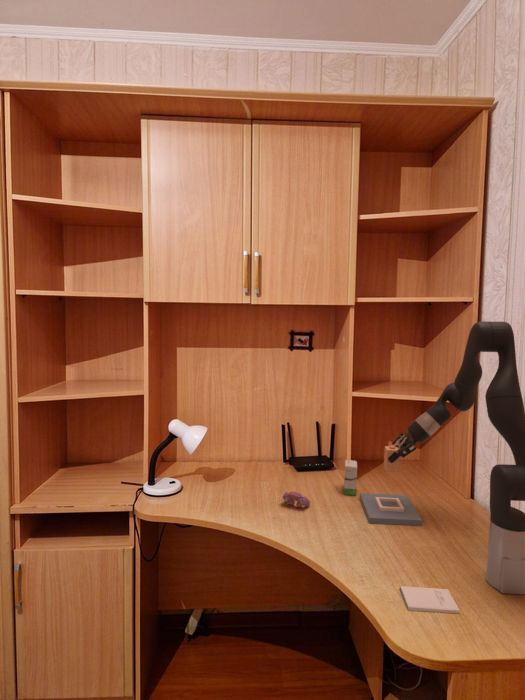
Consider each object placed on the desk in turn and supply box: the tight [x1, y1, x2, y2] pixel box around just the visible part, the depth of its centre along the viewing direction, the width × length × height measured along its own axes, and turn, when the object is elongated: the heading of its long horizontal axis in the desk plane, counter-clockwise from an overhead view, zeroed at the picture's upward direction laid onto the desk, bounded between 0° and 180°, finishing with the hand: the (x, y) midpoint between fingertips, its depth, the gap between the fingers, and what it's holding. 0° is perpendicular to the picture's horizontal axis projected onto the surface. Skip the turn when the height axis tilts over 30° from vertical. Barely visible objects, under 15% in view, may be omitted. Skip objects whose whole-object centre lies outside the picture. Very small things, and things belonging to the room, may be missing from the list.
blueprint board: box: [359, 492, 423, 527], centre depth 158 cm, size 20×18×3 cm
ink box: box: [343, 459, 358, 497], centre depth 174 cm, size 9×5×12 cm, turn 168°
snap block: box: [383, 444, 401, 473], centre depth 156 cm, size 4×4×9 cm
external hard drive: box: [399, 585, 460, 615], centre depth 109 cm, size 2×8×12 cm
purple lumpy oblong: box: [282, 490, 311, 509], centre depth 160 cm, size 10×5×7 cm, turn 63°
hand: (388, 458), depth 156 cm, fingers closed on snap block, 4 cm apart
